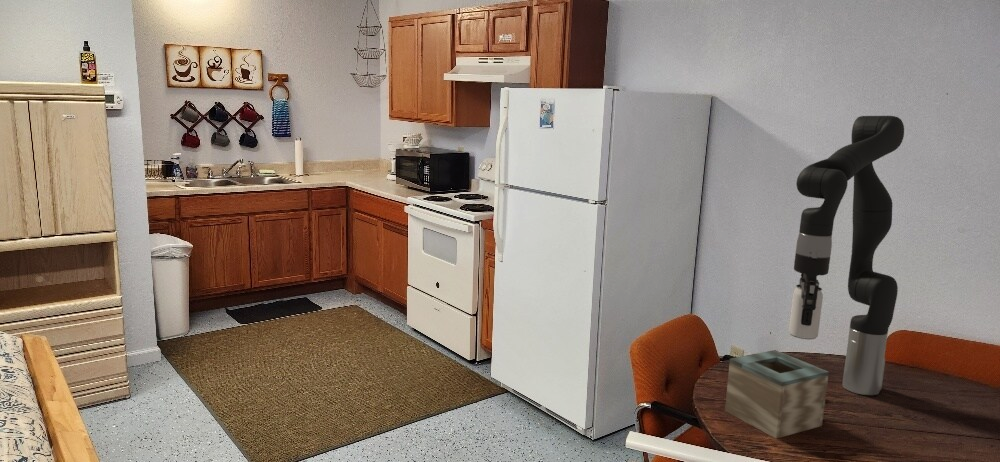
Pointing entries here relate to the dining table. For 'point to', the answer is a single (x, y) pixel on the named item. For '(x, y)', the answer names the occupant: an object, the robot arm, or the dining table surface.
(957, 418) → the dining table surface
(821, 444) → the dining table surface
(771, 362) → the drop box
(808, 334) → the can
